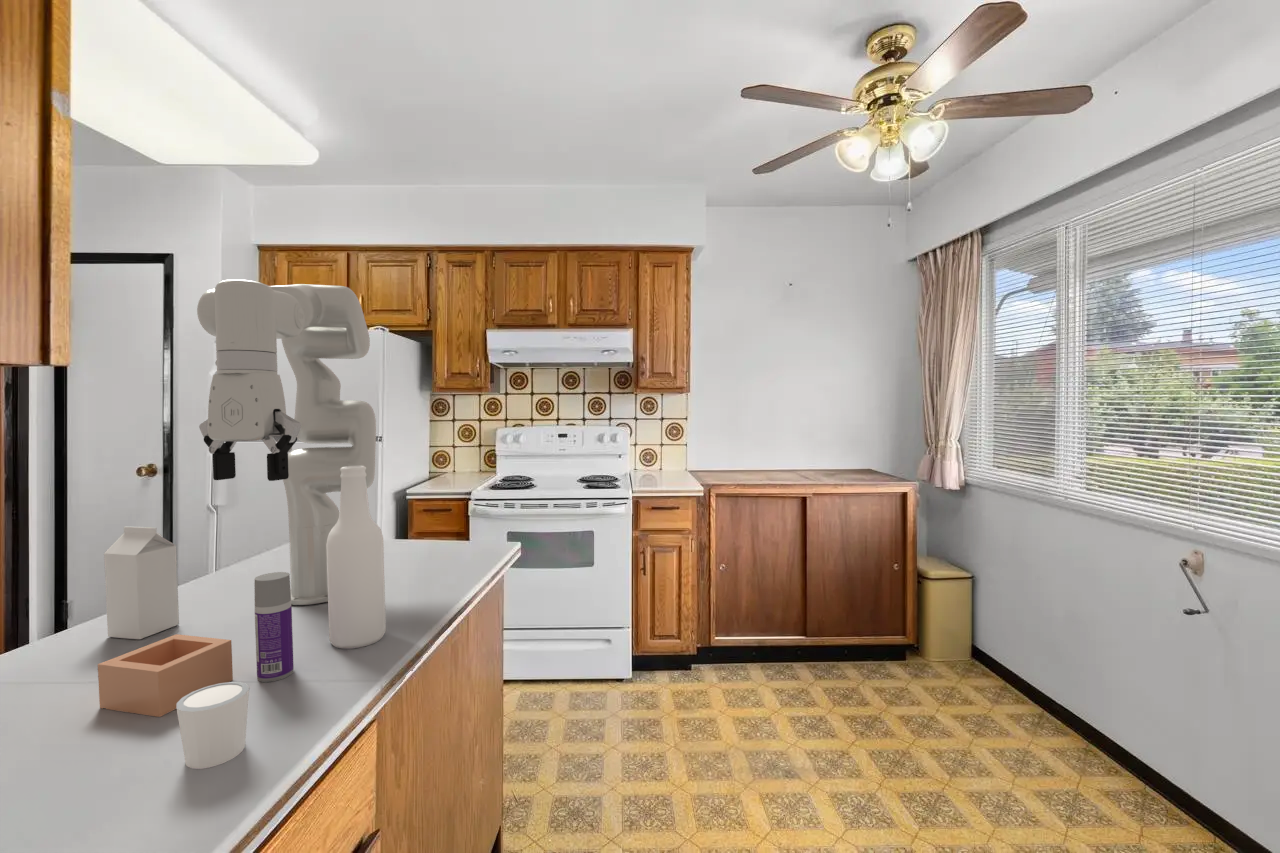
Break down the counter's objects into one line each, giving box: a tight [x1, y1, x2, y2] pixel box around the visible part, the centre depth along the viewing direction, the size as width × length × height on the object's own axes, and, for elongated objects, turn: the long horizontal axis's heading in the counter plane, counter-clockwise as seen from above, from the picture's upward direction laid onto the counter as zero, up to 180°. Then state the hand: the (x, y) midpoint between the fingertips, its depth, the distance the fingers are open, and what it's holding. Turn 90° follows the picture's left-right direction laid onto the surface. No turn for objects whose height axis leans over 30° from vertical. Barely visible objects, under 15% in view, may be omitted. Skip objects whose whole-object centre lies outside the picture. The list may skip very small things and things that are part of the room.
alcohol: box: [326, 466, 387, 650], centre depth 100 cm, size 9×9×30 cm
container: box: [254, 571, 295, 683], centre depth 87 cm, size 5×5×15 cm
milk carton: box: [103, 526, 180, 640], centre depth 105 cm, size 7×7×19 cm
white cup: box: [176, 681, 250, 770], centre depth 67 cm, size 7×7×7 cm
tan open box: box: [97, 633, 234, 718], centre depth 82 cm, size 10×10×6 cm
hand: (251, 479), depth 87 cm, fingers open, 9 cm apart
